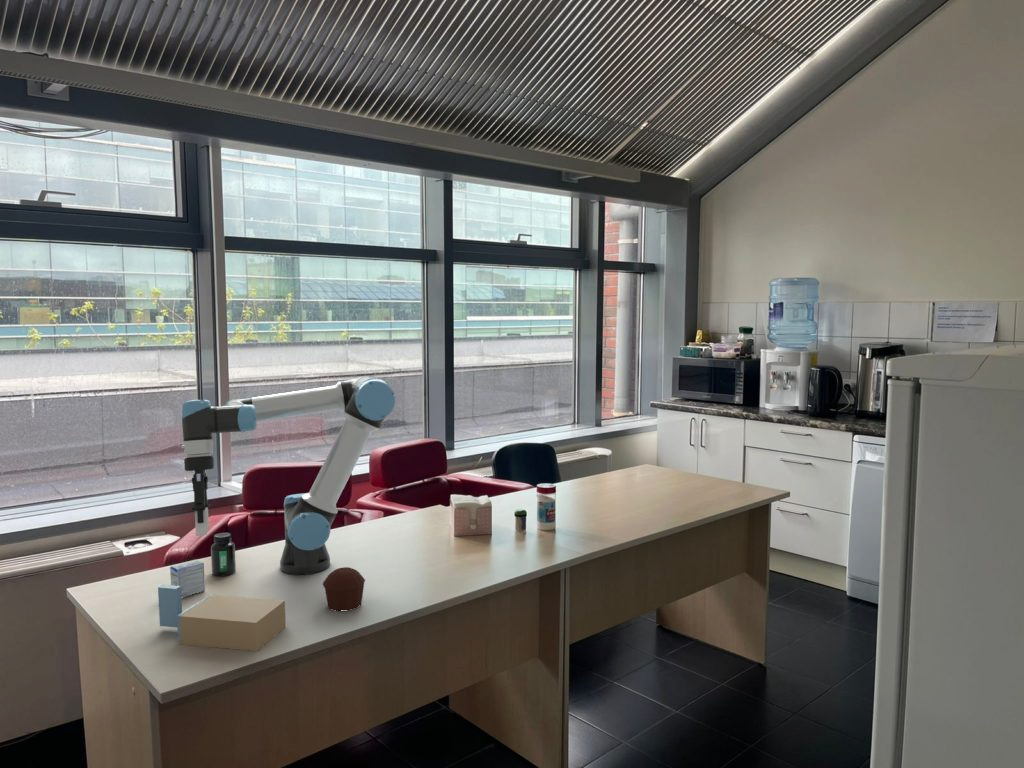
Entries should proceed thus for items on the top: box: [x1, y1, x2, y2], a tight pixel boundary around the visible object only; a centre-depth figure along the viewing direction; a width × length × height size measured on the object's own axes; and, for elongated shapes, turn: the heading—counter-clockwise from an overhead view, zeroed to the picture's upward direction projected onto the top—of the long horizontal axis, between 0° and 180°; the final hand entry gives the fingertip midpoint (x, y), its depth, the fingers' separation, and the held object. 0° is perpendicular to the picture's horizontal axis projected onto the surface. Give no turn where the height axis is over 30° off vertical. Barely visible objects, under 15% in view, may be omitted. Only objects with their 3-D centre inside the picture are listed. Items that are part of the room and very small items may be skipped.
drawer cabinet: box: [180, 594, 287, 652], centre depth 189 cm, size 20×14×7 cm
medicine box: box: [169, 559, 206, 599], centre depth 217 cm, size 8×4×9 cm, turn 141°
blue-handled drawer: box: [157, 584, 212, 640], centre depth 190 cm, size 29×13×10 cm, turn 79°
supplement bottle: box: [210, 532, 237, 577], centre depth 234 cm, size 7×7×12 cm
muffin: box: [322, 566, 366, 612], centre depth 209 cm, size 12×11×10 cm
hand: (202, 533), depth 211 cm, fingers open, 13 cm apart
